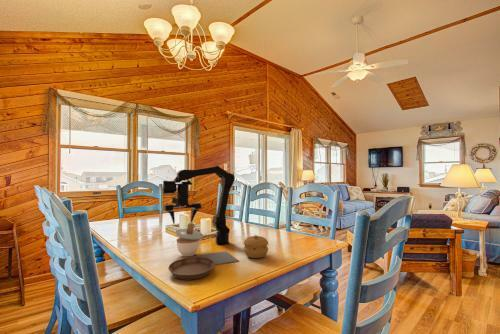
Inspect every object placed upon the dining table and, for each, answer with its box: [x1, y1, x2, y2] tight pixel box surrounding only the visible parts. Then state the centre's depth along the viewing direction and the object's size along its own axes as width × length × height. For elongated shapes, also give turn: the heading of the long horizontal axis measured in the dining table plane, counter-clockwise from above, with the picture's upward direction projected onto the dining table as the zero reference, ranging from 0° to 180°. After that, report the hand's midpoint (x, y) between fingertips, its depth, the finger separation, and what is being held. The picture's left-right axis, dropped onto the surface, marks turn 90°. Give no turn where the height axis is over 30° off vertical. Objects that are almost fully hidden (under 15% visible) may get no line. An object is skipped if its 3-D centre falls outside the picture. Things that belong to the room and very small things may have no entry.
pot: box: [242, 234, 269, 259], centre depth 123 cm, size 12×12×10 cm
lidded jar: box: [176, 237, 201, 257], centre depth 126 cm, size 11×11×9 cm
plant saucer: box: [168, 256, 216, 281], centre depth 103 cm, size 18×18×3 cm
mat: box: [193, 250, 240, 267], centre depth 120 cm, size 16×16×1 cm
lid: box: [175, 222, 204, 240], centre depth 126 cm, size 13×13×5 cm
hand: (182, 222), depth 138 cm, fingers open, 9 cm apart
